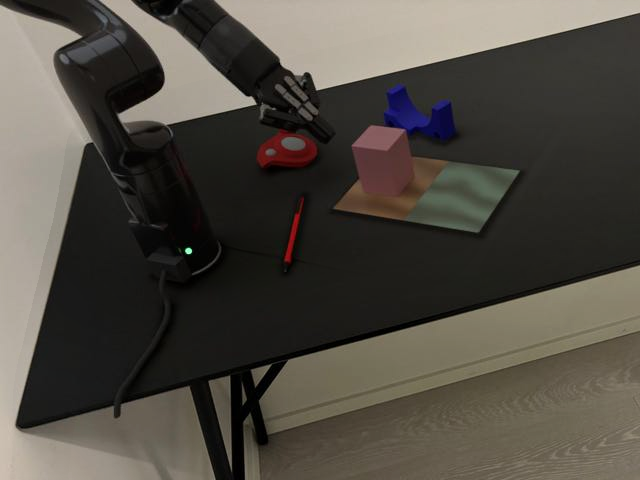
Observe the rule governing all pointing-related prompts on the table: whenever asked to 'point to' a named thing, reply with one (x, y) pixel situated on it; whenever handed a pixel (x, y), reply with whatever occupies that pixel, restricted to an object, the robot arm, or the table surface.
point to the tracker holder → (287, 150)
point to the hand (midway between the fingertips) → (330, 139)
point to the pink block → (383, 160)
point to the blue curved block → (418, 115)
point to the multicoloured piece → (438, 195)
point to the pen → (293, 234)
